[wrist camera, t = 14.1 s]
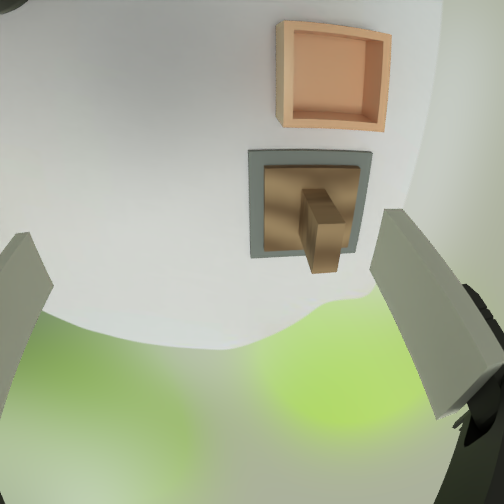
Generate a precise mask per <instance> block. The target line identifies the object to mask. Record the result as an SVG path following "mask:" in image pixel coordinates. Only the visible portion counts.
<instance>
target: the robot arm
mask: <svg viewBox="0 0 504 504" xmlns="http://www.w3.org/2000/svg"><path fill="white" fill-rule="evenodd" d="M26 1H27V0H0V14H3V13H7V12H10V11H12V10H14V9H16V8H18V7H19V6H21V5H22V4H24V3H25V2H26ZM369 270H370V271H371V273H372V275H373V277H374V279H375V281H376V283H377V285H378V287H379V289H380V291H381V293H382V295H383V297H384V299H385V301H386V303H387V305H388V307H389V309H390V311H391V313H392V315H393V318H394V320H395V322H396V324H397V326H398V328H399V330H400V333H401V335H402V337H403V339H404V341H405V344H406V346H407V348H408V350H409V353H410V355H411V357H412V359H413V362H414V364H415V367H416V369H417V371H418V374H419V376H420V379H421V381H422V384H423V386H424V389H425V391H426V394H427V396H428V399H429V401H430V404H431V407H432V409H433V412H434V415H435V417H436V420H438V419H441V418H444V417H446V416H449V415H451V414H454V413H456V412H457V411H459V410H460V409H461V408H462V407H463V406H464V405H465V404H466V403H467V404H468V407H469V410H468V411H467V412H466V413H465V414H464V415H463V416H462V417H460V418H459V419H458V420H457V421H456V422H455V424H454V425H453V428H454V429H455V428H457V427H458V426H459V425H460V424H461V423H463V425H462V427H461V428H460V429H459V430H460V431H461V432H460V435H459V438H458V441H457V445H456V448H455V451H454V454H453V457H452V459H451V462H450V465H449V468H448V470H447V473H446V475H445V478H444V481H443V483H442V485H441V488H440V490H439V493H438V495H437V497H436V499H435V502H434V504H504V333H503V331H502V329H501V328H500V326H499V325H498V323H497V321H496V320H495V319H493V315H492V314H491V312H490V311H489V310H488V309H487V306H486V305H485V303H484V302H483V300H482V299H481V297H480V296H479V294H478V293H476V292H475V291H474V290H473V289H472V288H471V287H470V286H468V285H467V284H461V283H460V281H459V280H458V279H457V277H456V276H455V275H454V273H453V272H452V270H451V269H450V268H449V266H448V265H447V264H446V262H445V261H444V260H443V258H442V257H441V256H440V254H439V253H438V252H437V250H436V249H435V248H434V247H433V245H432V244H431V243H430V241H429V240H428V239H427V238H426V237H425V235H424V234H423V233H422V232H421V230H420V229H419V228H418V227H417V226H416V224H415V223H414V222H413V221H412V220H411V218H410V217H409V216H408V215H407V214H406V213H405V211H404V210H403V209H384V213H383V217H382V222H381V226H380V230H379V235H378V239H377V243H376V247H375V251H374V255H373V258H372V262H371V266H370V269H369ZM53 287H54V285H53V283H52V281H51V279H50V277H49V275H48V273H47V271H46V269H45V267H44V265H43V262H42V260H41V258H40V256H39V254H38V251H37V249H36V247H35V244H34V242H33V240H32V237H31V235H30V232H25V233H18V234H16V235H15V236H14V237H13V238H12V240H11V241H10V242H9V243H8V245H7V246H6V247H5V249H4V250H3V251H2V253H1V254H0V418H1V415H2V412H3V408H4V405H5V402H6V399H7V395H8V392H9V389H10V387H11V383H12V380H13V378H14V375H15V372H16V370H17V367H18V364H19V362H20V359H21V357H22V354H23V352H24V349H25V347H26V344H27V342H28V340H29V337H30V335H31V333H32V330H33V328H34V326H35V324H36V322H37V319H38V317H39V315H40V313H41V311H42V309H43V307H44V305H45V303H46V300H47V298H48V296H49V294H50V292H51V290H52V289H53ZM0 504H5V502H4V500H3V498H2V495H1V493H0Z"/></svg>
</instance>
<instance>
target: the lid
mask: <svg viewBox="0 0 504 504" xmlns="http://www.w3.org/2000/svg"><path fill="white" fill-rule="evenodd" d="M360 171H361V169H360V168H359V167H358V166H353V165H264V252H269V251H289V250H304V251H305V254H306V257H307V260H308V263H309V266H310V270H311V273H312V274H316V273H330V272H337V268H338V263H339V258H340V252H341V248H347V247H348V244H349V238H350V233H351V228H352V222H353V216H354V210H355V204H356V198H357V192H358V185H359V178H360Z"/></svg>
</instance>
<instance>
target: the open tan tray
mask: <svg viewBox="0 0 504 504" xmlns="http://www.w3.org/2000/svg"><path fill="white" fill-rule="evenodd" d="M391 38H392V35H390V34H385V33H380V32H376V31H370V30H365V29H359V28H353V27H347V26H340V25H332V24H324V23H314V22H302V21H286V20H284V21H282V22H280V23H279V24H277V25H276V118H277V119H278V121H279V122H280V123H281V125H282V126H283V127H291V128H330V129H349V130H364V131H376V132H384V128H385V120H386V111H387V101H388V90H389V77H390V61H391Z"/></svg>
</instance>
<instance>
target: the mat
mask: <svg viewBox="0 0 504 504" xmlns="http://www.w3.org/2000/svg"><path fill="white" fill-rule="evenodd" d="M372 154H373V153H372V152H367V151H346V150H248V161H249V208H250V254H251V258H268V257H287V256H306V254H305V251H304V250H289V251H269V252H264V165H353V166H358V167H359V168H360V169H361V171H360V178H359V185H358V192H357V198H356V204H355V210H354V216H353V222H352V228H351V233H350V238H349V244H348V247H347V248H341V252H340V254H342V253H355V251H356V246H357V241H358V236H359V231H360V226H361V221H362V216H363V210H364V205H365V199H366V193H367V187H368V181H369V175H370V168H371V161H372Z"/></svg>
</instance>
